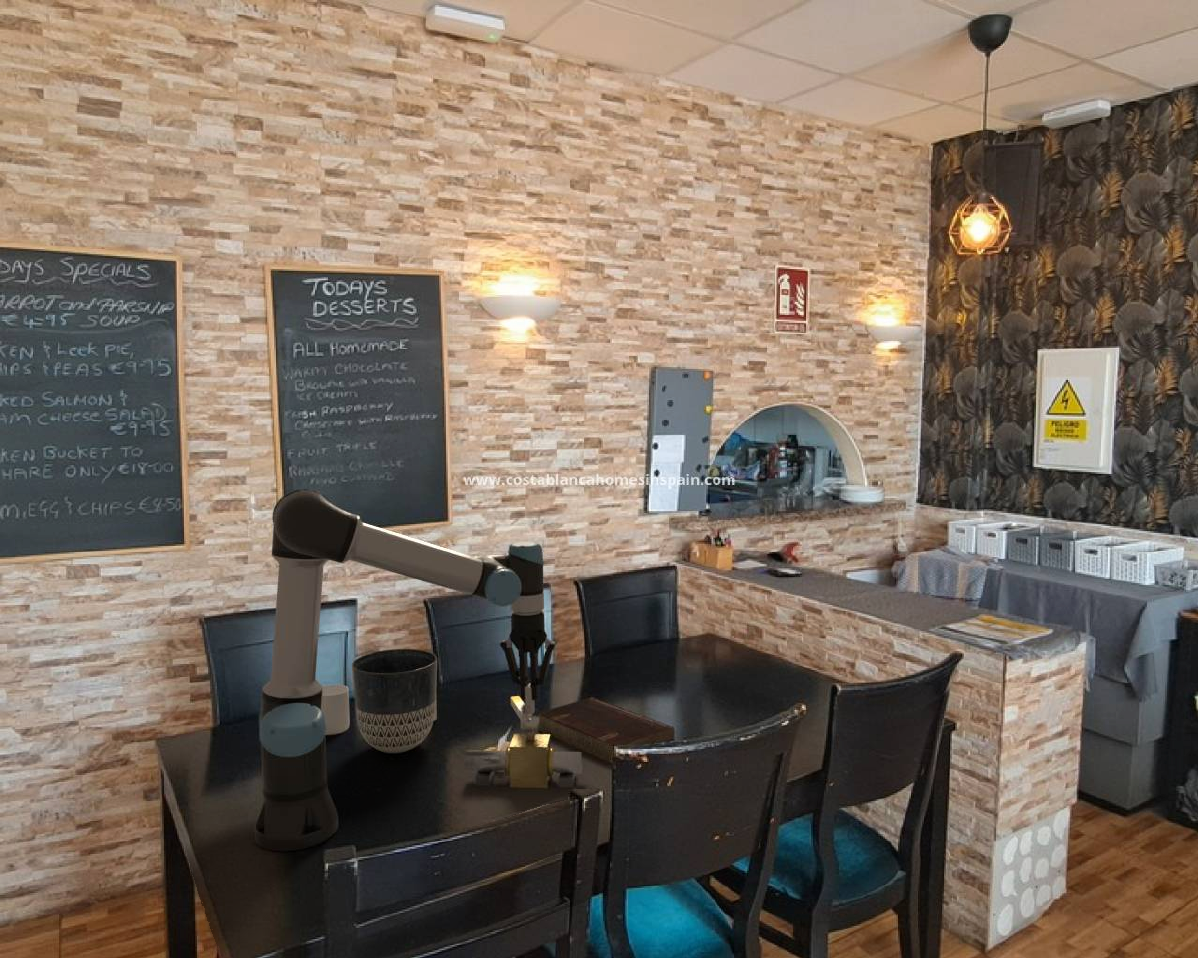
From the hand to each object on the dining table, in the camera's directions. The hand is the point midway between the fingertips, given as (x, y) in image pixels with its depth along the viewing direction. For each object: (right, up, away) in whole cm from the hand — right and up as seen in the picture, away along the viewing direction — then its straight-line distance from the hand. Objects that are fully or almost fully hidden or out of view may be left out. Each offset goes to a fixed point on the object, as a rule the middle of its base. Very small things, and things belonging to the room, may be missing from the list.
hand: (530, 713), depth 196 cm
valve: (-1, -12, -8) cm, 15 cm away
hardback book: (+17, -11, +16) cm, 26 cm away
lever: (-1, 0, -3) cm, 4 cm away
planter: (-32, -11, +9) cm, 35 cm away
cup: (-53, -10, +23) cm, 58 cm away
